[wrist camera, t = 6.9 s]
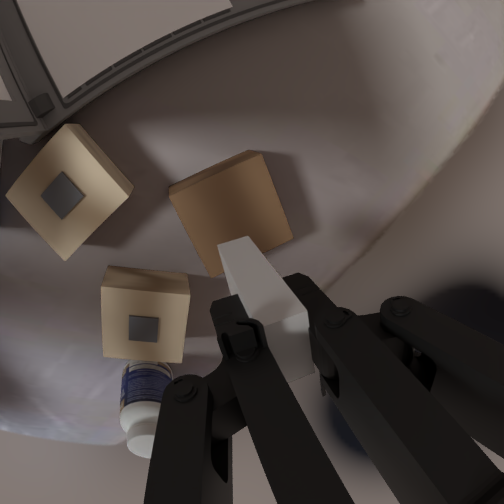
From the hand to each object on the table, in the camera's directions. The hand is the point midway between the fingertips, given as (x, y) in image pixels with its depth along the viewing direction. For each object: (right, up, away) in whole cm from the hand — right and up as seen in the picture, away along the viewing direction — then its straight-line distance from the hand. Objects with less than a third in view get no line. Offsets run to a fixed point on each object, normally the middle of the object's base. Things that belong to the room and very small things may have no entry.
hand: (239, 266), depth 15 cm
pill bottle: (-10, -12, +16) cm, 22 cm away
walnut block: (-2, +5, +11) cm, 12 cm away
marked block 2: (-9, -4, +13) cm, 16 cm away
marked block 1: (-13, +6, +7) cm, 16 cm away
